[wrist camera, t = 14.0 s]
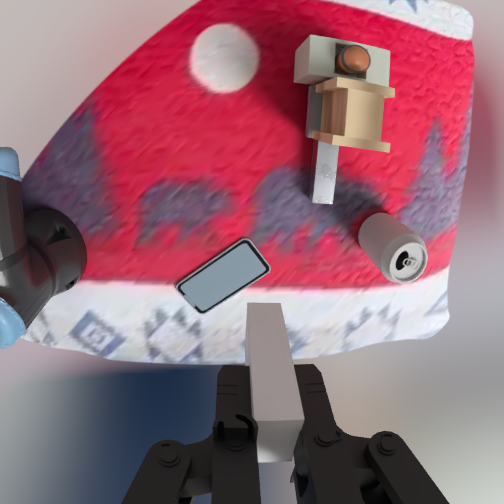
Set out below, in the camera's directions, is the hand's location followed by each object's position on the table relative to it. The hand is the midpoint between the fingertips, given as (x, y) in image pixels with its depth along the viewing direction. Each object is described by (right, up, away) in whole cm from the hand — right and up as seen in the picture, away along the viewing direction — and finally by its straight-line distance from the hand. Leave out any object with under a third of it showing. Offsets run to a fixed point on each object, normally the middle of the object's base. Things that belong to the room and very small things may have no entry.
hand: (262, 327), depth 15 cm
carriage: (+10, +23, +28) cm, 38 cm away
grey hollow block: (+11, +29, +25) cm, 40 cm away
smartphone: (-5, 0, +38) cm, 39 cm away
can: (+20, +7, +36) cm, 42 cm away
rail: (+10, +19, +29) cm, 37 cm away
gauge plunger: (+11, +26, +18) cm, 34 cm away
